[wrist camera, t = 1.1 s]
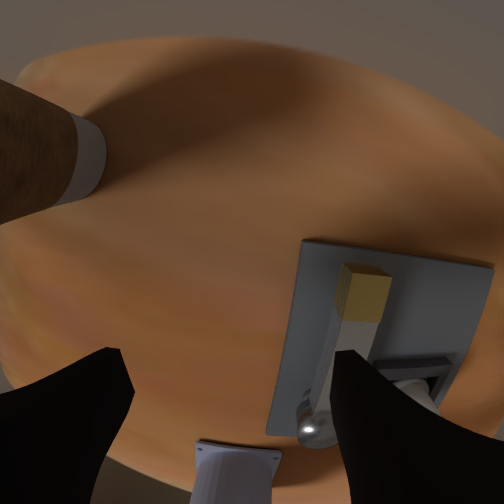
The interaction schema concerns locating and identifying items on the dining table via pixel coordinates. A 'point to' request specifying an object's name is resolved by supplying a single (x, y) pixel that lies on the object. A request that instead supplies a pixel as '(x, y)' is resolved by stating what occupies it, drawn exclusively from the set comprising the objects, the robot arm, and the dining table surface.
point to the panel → (389, 329)
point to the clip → (343, 344)
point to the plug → (417, 392)
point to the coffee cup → (44, 154)
